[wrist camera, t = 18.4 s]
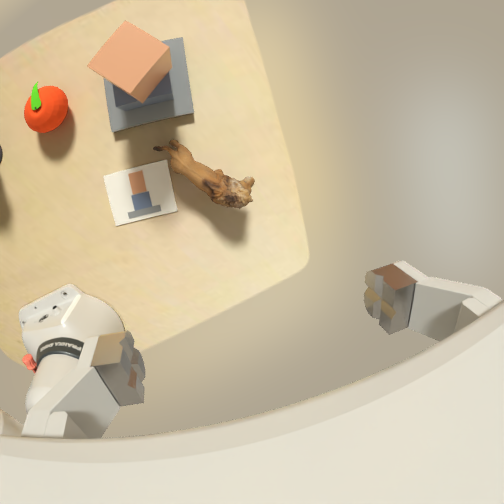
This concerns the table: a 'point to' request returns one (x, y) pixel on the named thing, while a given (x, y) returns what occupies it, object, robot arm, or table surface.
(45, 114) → the clementine
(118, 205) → the page
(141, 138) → the table surface
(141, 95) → the terracotta brick
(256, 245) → the table surface
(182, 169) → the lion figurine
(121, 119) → the tower base
